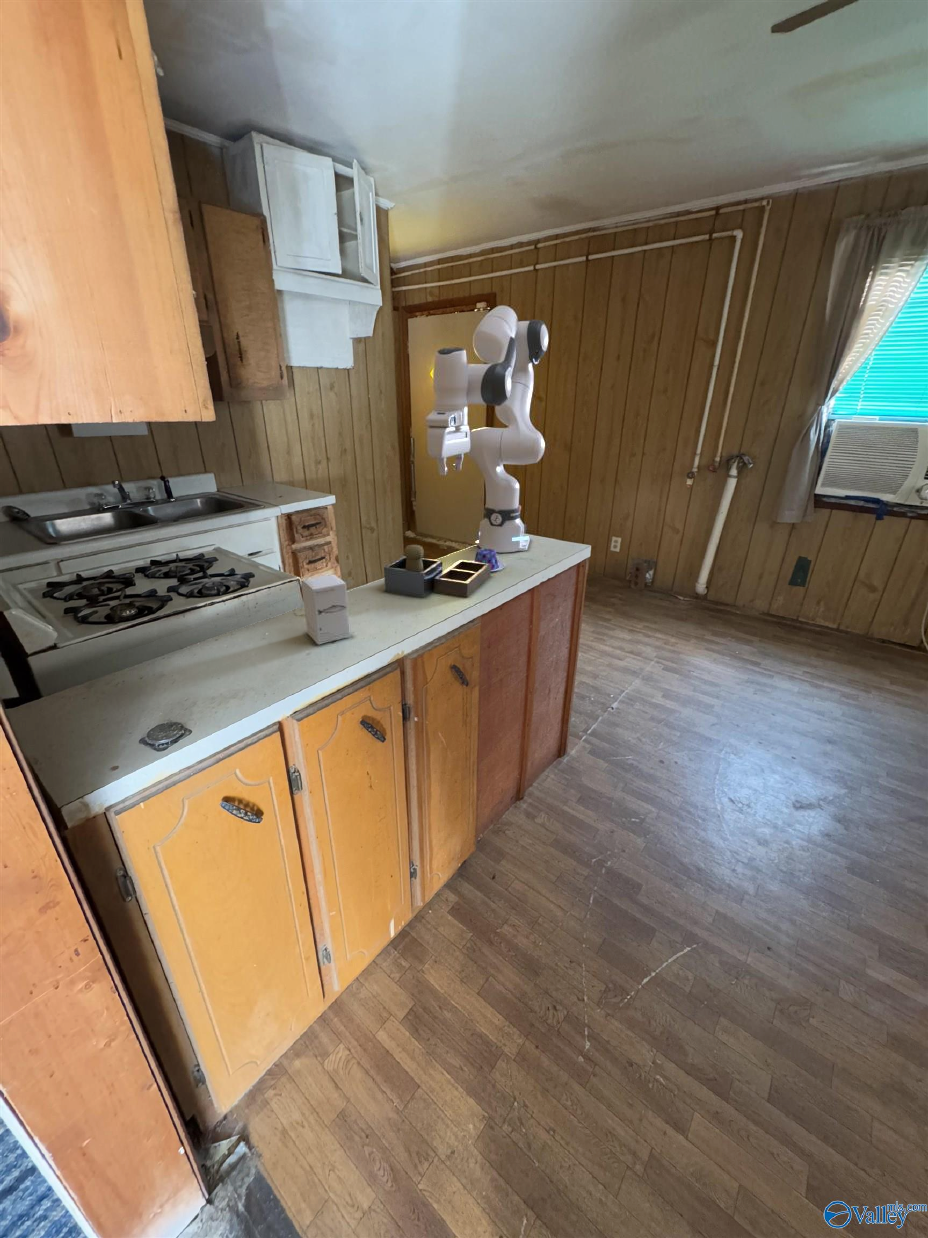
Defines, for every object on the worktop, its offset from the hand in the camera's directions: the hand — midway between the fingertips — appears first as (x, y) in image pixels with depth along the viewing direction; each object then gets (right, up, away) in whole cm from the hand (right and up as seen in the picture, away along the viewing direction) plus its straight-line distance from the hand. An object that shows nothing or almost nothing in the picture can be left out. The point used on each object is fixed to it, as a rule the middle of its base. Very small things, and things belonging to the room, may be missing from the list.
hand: (450, 472), depth 136 cm
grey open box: (-10, -31, +2) cm, 33 cm away
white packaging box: (-26, -43, -26) cm, 57 cm away
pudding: (+10, -24, +19) cm, 32 cm away
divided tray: (+3, -30, +5) cm, 30 cm away
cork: (-10, -30, +1) cm, 32 cm away
